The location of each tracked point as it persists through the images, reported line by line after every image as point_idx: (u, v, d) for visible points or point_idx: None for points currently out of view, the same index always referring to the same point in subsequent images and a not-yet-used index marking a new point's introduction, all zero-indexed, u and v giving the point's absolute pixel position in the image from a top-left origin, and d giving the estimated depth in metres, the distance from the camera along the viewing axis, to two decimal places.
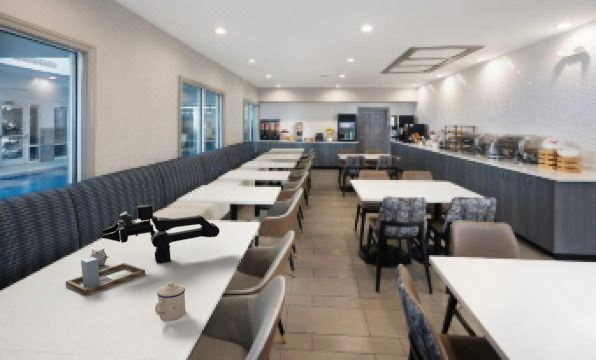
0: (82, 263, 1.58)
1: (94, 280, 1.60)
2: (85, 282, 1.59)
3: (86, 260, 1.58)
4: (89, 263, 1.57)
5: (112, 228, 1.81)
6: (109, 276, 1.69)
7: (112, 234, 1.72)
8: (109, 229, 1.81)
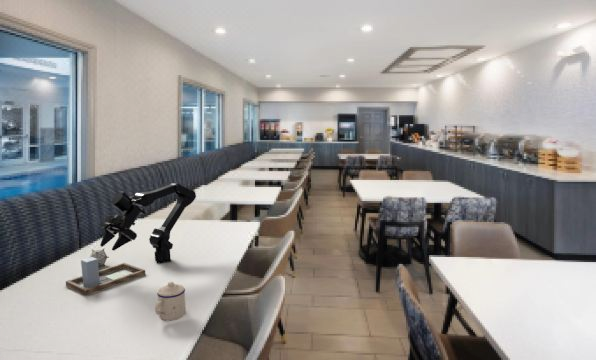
0: (82, 263, 1.58)
1: (94, 280, 1.60)
2: (85, 282, 1.59)
3: (86, 260, 1.58)
4: (89, 263, 1.57)
5: (106, 236, 1.70)
6: (109, 276, 1.69)
7: (119, 241, 1.64)
8: (105, 239, 1.69)
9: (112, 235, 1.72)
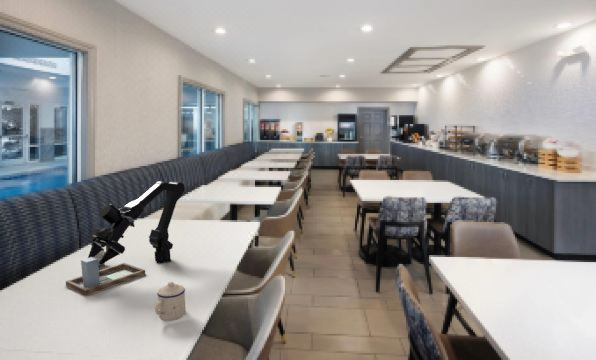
0: (82, 263, 1.58)
1: (94, 280, 1.60)
2: (85, 282, 1.59)
3: (86, 260, 1.58)
4: (89, 263, 1.57)
5: (94, 249, 1.66)
6: (109, 276, 1.69)
7: (107, 254, 1.59)
8: (92, 252, 1.65)
9: (100, 248, 1.68)
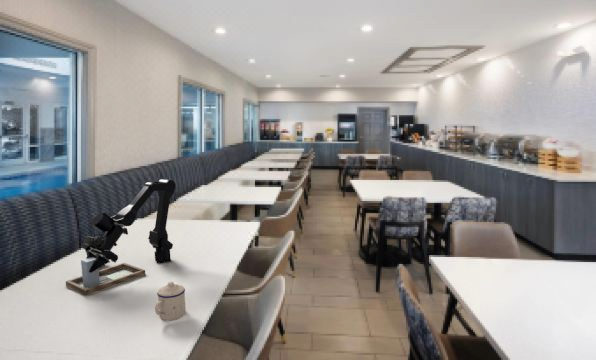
0: (82, 263, 1.58)
1: (94, 280, 1.60)
2: (85, 282, 1.59)
3: (86, 260, 1.58)
4: (89, 263, 1.57)
5: None
6: (109, 276, 1.69)
7: (97, 262, 1.59)
8: None
9: (96, 257, 1.65)
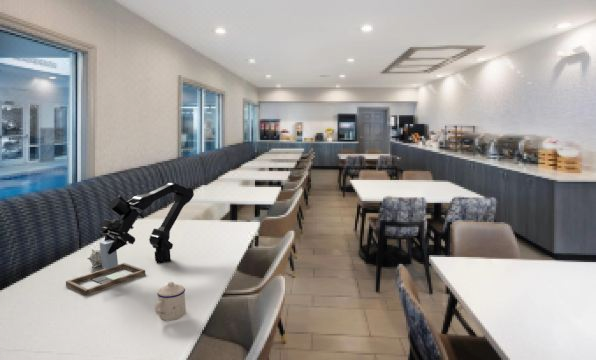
0: (101, 245, 1.64)
1: (113, 262, 1.66)
2: (104, 264, 1.65)
3: (104, 242, 1.64)
4: (107, 245, 1.63)
5: None
6: (109, 276, 1.69)
7: (115, 244, 1.64)
8: None
9: (113, 240, 1.71)
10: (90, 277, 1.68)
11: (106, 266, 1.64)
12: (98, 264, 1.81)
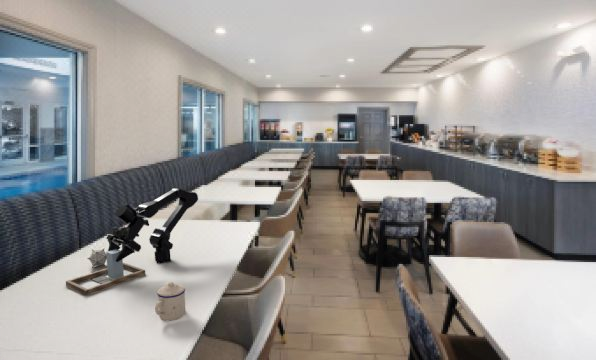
0: (107, 255, 1.67)
1: (119, 271, 1.68)
2: (110, 273, 1.67)
3: (111, 252, 1.67)
4: (114, 255, 1.66)
5: (111, 248, 1.71)
6: None
7: (123, 252, 1.66)
8: None
9: (117, 247, 1.74)
10: (90, 277, 1.68)
11: (112, 275, 1.67)
12: (98, 264, 1.81)
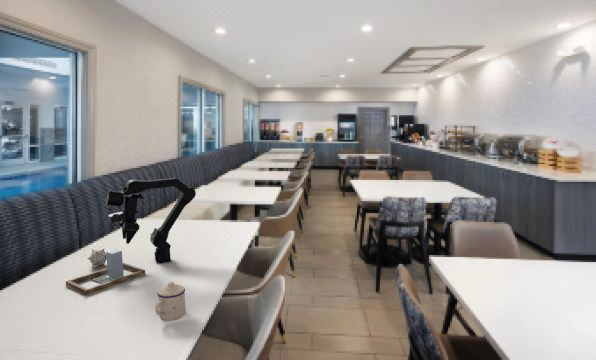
0: (107, 255, 1.67)
1: (119, 271, 1.68)
2: (110, 273, 1.67)
3: (111, 252, 1.67)
4: (114, 255, 1.66)
5: None
6: None
7: (128, 234, 1.73)
8: (124, 231, 1.82)
9: None
10: (90, 277, 1.68)
11: (112, 275, 1.67)
12: (98, 264, 1.81)
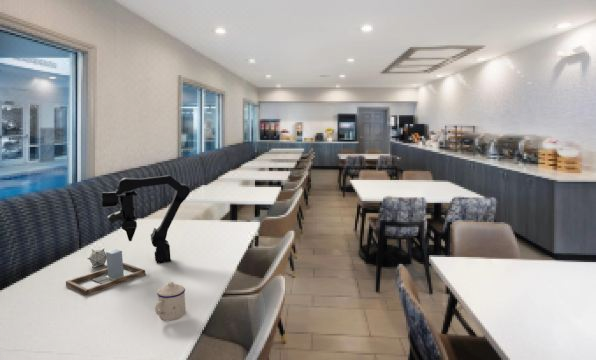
0: (107, 255, 1.67)
1: (119, 271, 1.68)
2: (110, 273, 1.67)
3: (111, 252, 1.67)
4: (114, 255, 1.66)
5: None
6: None
7: (128, 232, 1.75)
8: None
9: None
10: (90, 277, 1.68)
11: (112, 275, 1.67)
12: (98, 264, 1.81)
